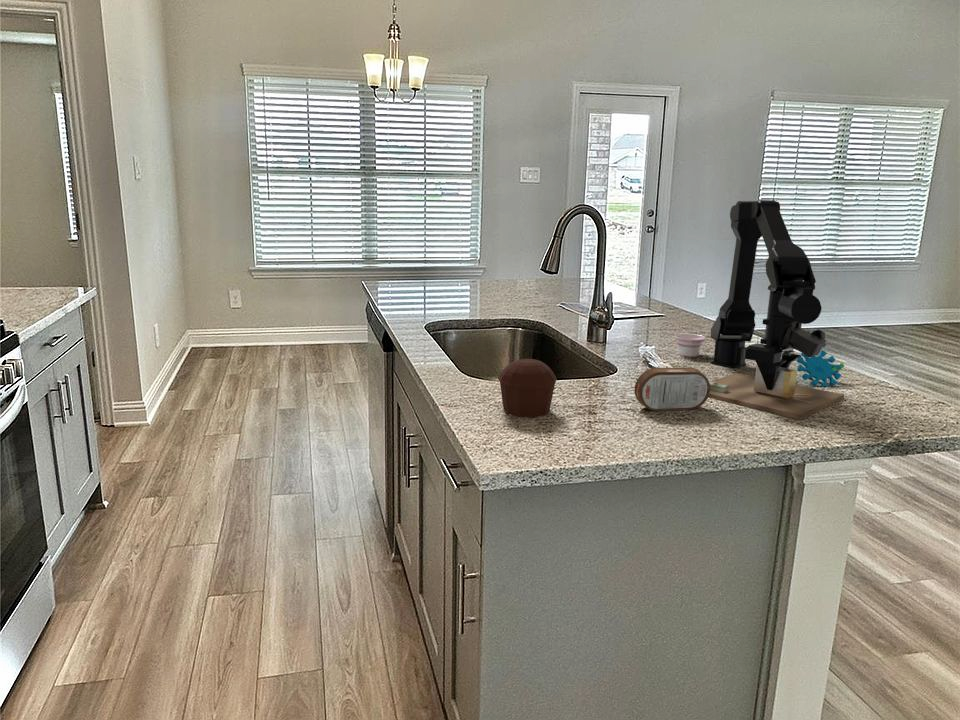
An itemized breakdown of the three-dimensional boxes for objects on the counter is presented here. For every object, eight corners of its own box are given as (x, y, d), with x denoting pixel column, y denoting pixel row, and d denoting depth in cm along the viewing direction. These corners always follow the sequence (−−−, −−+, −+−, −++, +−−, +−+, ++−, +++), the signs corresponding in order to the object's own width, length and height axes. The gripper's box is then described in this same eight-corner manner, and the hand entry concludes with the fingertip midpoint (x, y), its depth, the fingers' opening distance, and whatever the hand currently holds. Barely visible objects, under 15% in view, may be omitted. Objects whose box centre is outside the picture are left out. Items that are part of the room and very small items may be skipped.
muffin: (521, 398, 144) (522, 351, 142) (566, 409, 137) (569, 360, 135) (485, 411, 135) (486, 361, 133) (531, 424, 128) (533, 371, 126)
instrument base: (687, 393, 150) (688, 381, 150) (736, 376, 165) (738, 365, 164) (800, 420, 133) (801, 406, 133) (843, 399, 148) (845, 386, 147)
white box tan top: (753, 391, 148) (756, 365, 147) (760, 388, 150) (763, 363, 149) (787, 398, 143) (790, 372, 142) (794, 395, 145) (797, 369, 144)
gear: (806, 385, 155) (793, 346, 160) (793, 397, 160) (782, 359, 165) (853, 385, 156) (839, 346, 161) (839, 397, 161) (826, 359, 166)
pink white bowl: (714, 366, 176) (716, 342, 175) (665, 363, 178) (667, 339, 177) (708, 355, 188) (710, 333, 186) (662, 353, 190) (664, 330, 188)
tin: (702, 406, 141) (706, 365, 140) (710, 410, 138) (714, 369, 136) (632, 408, 139) (635, 367, 137) (638, 413, 136) (641, 371, 134)
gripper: (803, 326, 131) (792, 405, 135) (840, 315, 144) (830, 388, 147) (746, 317, 139) (738, 393, 143) (787, 308, 151) (778, 378, 155)
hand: (773, 388), depth 147 cm, fingers open, 3 cm apart
